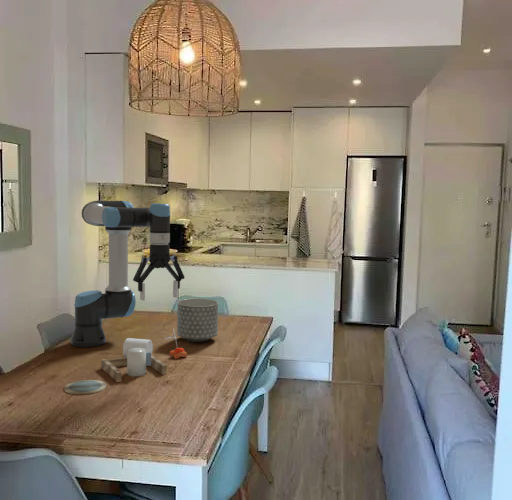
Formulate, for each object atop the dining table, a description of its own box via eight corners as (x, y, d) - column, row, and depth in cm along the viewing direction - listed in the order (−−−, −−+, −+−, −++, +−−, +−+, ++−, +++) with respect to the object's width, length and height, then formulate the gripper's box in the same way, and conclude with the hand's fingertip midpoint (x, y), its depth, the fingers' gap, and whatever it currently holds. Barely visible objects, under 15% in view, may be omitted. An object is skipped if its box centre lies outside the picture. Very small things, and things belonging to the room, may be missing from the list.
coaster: (59, 384, 191) (59, 383, 190) (99, 378, 198) (99, 377, 198) (69, 397, 179) (69, 396, 179) (111, 390, 186) (111, 389, 186)
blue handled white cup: (124, 372, 206) (124, 349, 205) (147, 368, 211) (147, 346, 210) (130, 377, 200) (131, 353, 199) (153, 373, 205) (154, 350, 204)
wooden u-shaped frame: (101, 368, 210) (101, 359, 210) (148, 361, 220) (148, 352, 220) (117, 382, 195) (117, 372, 194) (166, 373, 205) (166, 364, 205)
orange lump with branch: (166, 354, 230) (166, 327, 229) (188, 355, 230) (188, 327, 229) (163, 359, 224) (163, 330, 223) (186, 359, 224) (186, 331, 223)
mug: (145, 361, 220) (145, 342, 219) (122, 359, 222) (122, 340, 221) (156, 353, 231) (156, 335, 231) (134, 351, 233) (134, 333, 233)
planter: (169, 342, 249) (169, 303, 247) (189, 333, 267) (190, 297, 265) (205, 347, 242) (206, 308, 240) (224, 337, 260) (224, 300, 258)
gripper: (131, 245, 196) (131, 302, 198) (193, 243, 210) (192, 297, 212) (124, 243, 202) (124, 299, 204) (185, 242, 216) (184, 294, 218)
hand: (159, 298), depth 208 cm, fingers open, 13 cm apart
